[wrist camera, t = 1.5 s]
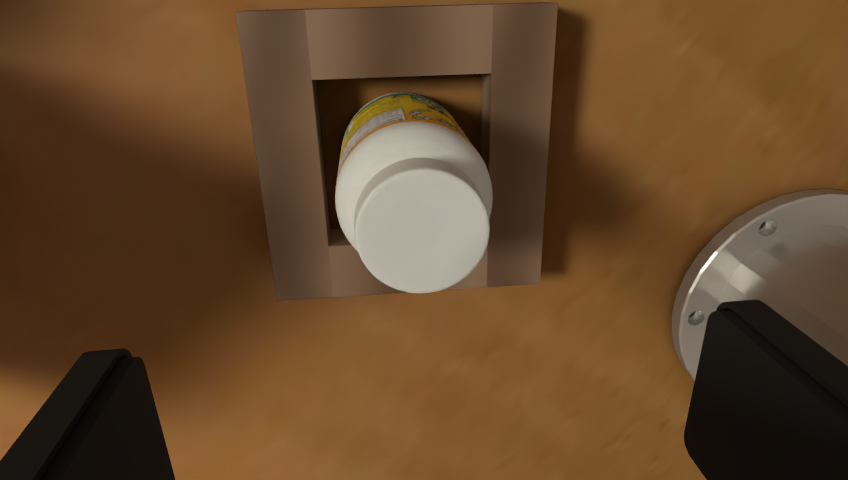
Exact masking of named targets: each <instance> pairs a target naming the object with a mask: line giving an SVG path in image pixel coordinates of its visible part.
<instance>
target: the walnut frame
mask: <svg viewBox="0 0 848 480" xmlns="http://www.w3.org/2000/svg"><path fill="white" fill-rule="evenodd" d="M557 9H558V3H546V2H541V3H504V4H468V5H432V6H396V7H360V8H323V9H287V10H251V11H237V12H235V13H236V20H237V27H238V34H239V41H240V48H241V55H242V62H243V69H244V76H245V83H246V90H247V96H248V103H249V110H250V117H251V124H252V131H253V138H254V145H255V152H256V159H257V166H258V173H259V180H260V186H261V193H262V200H263V207H264V214H265V221H266V228H267V235H268V242H269V249H270V256H271V263H272V270H273V277H274V283H275V290H276V297H277V301H282V300H298V299H313V298H328V297H344V296H359V295H374V294H390V293H405V291H400V290H397V289H394V288H392V287H390V286H388V285H386V284H384V283H383V282H381V281H380V280H378V279H377V278H376V277H375V276H374V275H373V274H372V273H371V272H370V271H369V270H368V269H367V267H366V266H365V264H364V263H363V262H362V260H361V257H360V255H359V253H358V251H357V250H356V249H355V248H354V247H353V246H352V245H351V243H350V242H349V241H348V239H347V238H346V236H345V234H344V233H343V231H342V229H331V224H330V213H329V203H328V193H327V182H326V172H325V161H324V151H323V141H322V130H321V120H320V109H319V99H318V88H317V80H324V79H351V78H379V77H406V76H433V75H460V74H482V101H481V157H482V159H483V160H484V162H485V165H486V167H487V170H488V173H489V176H490V179H491V184H492V192H493V201H492V210H491V214H490V218H489V225H490V233H489V240H488V245H487V248H486V250H485V253H484V255H483V257H482V259H481V260H480V262H479V263H478V265H477V266H476V267H475V268H474V269H473V271H472V272H471V273H470V274H469V275H468V276H466V277H465V278H464V279H462V280H461V281H460V282H458V283H456V284H455V285H453V286H451V287H448V288H446V289H443V290H451V289H466V288H482V287H497V286H512V285H528V284H540V277H541V261H542V245H543V230H544V214H545V198H546V182H547V167H548V151H549V135H550V119H551V104H552V88H553V72H554V56H555V41H556V25H557Z"/></svg>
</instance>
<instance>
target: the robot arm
mask: <svg viewBox="0 0 848 480" xmlns="http://www.w3.org/2000/svg"><path fill="white" fill-rule="evenodd" d="M672 339H673V343H674V348H675V352H676V354H677V356H678V358H679V360H680V362H681V364H682V366H683V367H684V368H685V370H686V371H687V372H688V373H689V374H690V376H691V377H692V378H693V379H694V381H695V383H694V388H693V393H692V397H691V402H690V407H689V412H688V417H687V422H686V427H685V431H684V442H685V446H686V449H687V451H688V453H689V455H690V457H691V458H692V460H693V461H694V462H695V464H696V465H697V467H698V468H699V469H700V471H701V472H702V474H703V475H704V476H705V478H706V479H707V480H848V192H847V191H840V190H833V189H814V190H803V191H798V192H794V193H790V194H786V195H782V196H779V197H776V198H774V199H772V200H769V201H767V202H764V203H762V204H760V205H757V206H756V207H754V208H752V209H751V210H749V211H747V212H746V213H744V214H742V215H741V216H739V217H737V218H736V219H734V220H733V221H732V222H731V223H730V224H728V225H727V226H726V227H725V228H723V229H722V230H721V231H720V232H719V233H717V234H716V235H715V236H714V237H713V238H712V239H711V241H710V242H709V243H708V244H707V245H706V246H705V247H704V248H703V249H702V251H701V252H700V253H699V254H698V255H697V257H696V258H695V260H694V262H693V263H692V265H691V266H690V268H689V269H688V271H687V272H686V274H685V276H684V278H683V281H682V283H681V285H680V288H679V290H678V292H677V295H676V299H675V303H674V308H673V312H672ZM0 480H175V477H174V473H173V469H172V466H171V462H170V458H169V454H168V451H167V447H166V443H165V439H164V436H163V432H162V428H161V424H160V421H159V417H158V413H157V409H156V406H155V402H154V398H153V394H152V391H151V387H150V383H149V380H148V376H147V372H146V368H145V365H144V362H143V360H142V359H141V358H140V357H132V355H131V353H130V352H129V351H128V350H126V349H114V350H101V351H89V352H85V353H83V354H82V355H81V356H80V357H79V359H78V360H77V361H76V363H75V364H74V365H73V367H72V368H71V369H70V370H69V372H68V373H67V374H66V376H65V377H64V378H63V380H62V381H61V382H60V384H59V385H58V386H57V387H56V389H55V390H54V391H53V393H52V394H51V395H50V397H49V398H48V399H47V401H46V402H45V403H44V404H43V406H42V407H41V408H40V410H39V411H38V412H37V414H36V415H35V416H34V418H33V419H32V420H31V421H30V423H29V424H28V425H27V427H26V428H25V429H24V431H23V432H22V433H21V435H20V436H19V437H18V438H17V440H16V441H15V442H14V444H13V445H12V446H11V448H10V449H9V450H8V452H7V453H6V454H5V455H4V457H3V458H2V459H1V461H0Z"/></svg>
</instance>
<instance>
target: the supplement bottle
mask: <svg viewBox="0 0 848 480" xmlns="http://www.w3.org/2000/svg"><path fill="white" fill-rule="evenodd" d="M492 201H493V192H492V184H491V179H490V176H489V173H488V170H487V167H486V165H485V162H484V160H483V159H482V157H481V156H480V154H479V153H478V152H477V150H476V149H475V148H474V146H473V145H472V143H471V142H470V141H469V139H468V138H467V136H466V135H465V134H464V132H463V131H462V129H461V128H460V127H459V125H458V124H457V123H456V121H455V120H454V118H453V117H452V116H451V115H450V113H449V112H448V111H447V110H446V109H444V108H443V107H442V106H441V105H439V104H438V103H436V102H435V101H433V100H431V99H428V98H426V97H423V96H420V95H417V94H413V93H408V92H395V93H389V94H385V95H382V96H380V97H378V98H375V99H373V100H372V101H370V102H369V103H367V104H366V105H365V106H363V107H362V108H361V109H360V110H359V111H358V112H357V113H356V114H355V116H354V117H353V118H352V120H351V121H350V123H349V125H348V127H347V129H346V131H345V134H344V138H343V142H342V147H341V153H340V161H339V168H338V175H337V182H336V192H335V205H336V212H337V217H338V220H339V224H340V226H341V228H342V231H343V233H344V234H345V236H346V238H347V239H348V241H349V242H350V243H351V245H352V246H353V247H354V248H355V249H356V250H357V251H358V253H359V255H360V257H361V260H362V262H363V263H364V264H365V266H366V267H367V269H368V270H369V271H370V272H371V273H372V274H373V275H374V276H375V277H376V278H377V279H378V280H380V281H381V282H383V283H384V284H386V285H388V286H390V287H392V288H394V289H397V290H400V291H405V292H409V293H430V292H435V291H440V290H443V289H446V288H448V287H451V286H453V285H455V284H456V283H458V282H460V281H461V280H462V279H464V278H465V277H466V276H468V275H469V274H470V273H471V272H472V271H473V269H474V268H475V267H476V266H477V265H478V263H479V262H480V260H481V259H482V257H483V255H484V253H485V250H486V248H487V245H488V240H489V233H490V225H489V218H490V214H491V210H492Z"/></svg>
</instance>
